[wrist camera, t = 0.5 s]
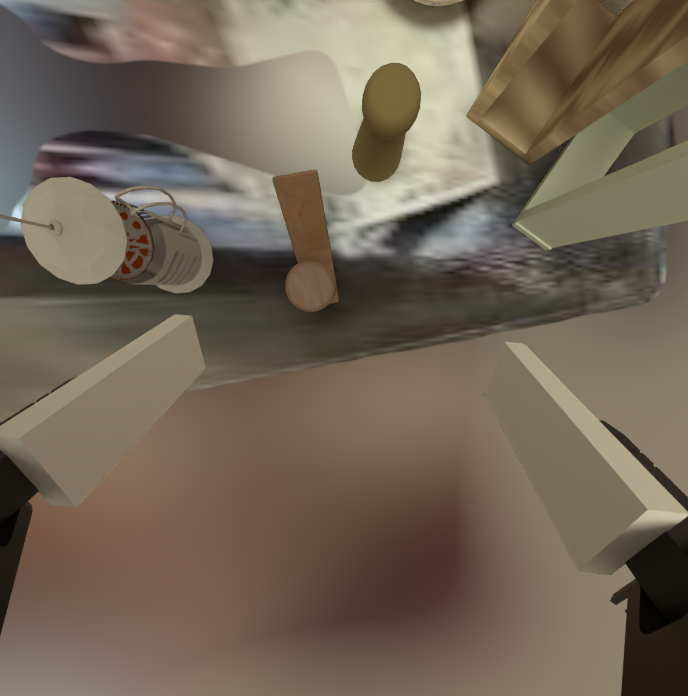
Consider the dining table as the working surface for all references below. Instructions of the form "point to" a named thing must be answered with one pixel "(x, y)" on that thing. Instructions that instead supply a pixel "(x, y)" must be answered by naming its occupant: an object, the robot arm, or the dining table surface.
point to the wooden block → (307, 241)
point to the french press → (112, 238)
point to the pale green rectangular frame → (613, 176)
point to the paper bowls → (437, 2)
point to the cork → (385, 120)
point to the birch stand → (577, 69)
